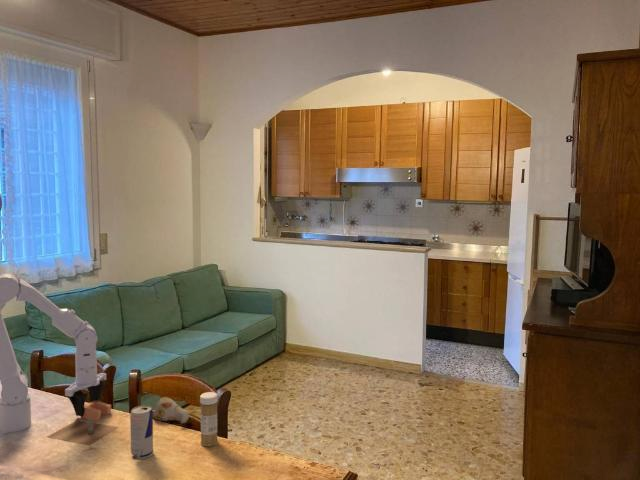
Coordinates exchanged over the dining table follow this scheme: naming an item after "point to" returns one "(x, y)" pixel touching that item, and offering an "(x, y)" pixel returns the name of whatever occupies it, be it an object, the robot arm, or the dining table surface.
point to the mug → (170, 411)
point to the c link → (96, 410)
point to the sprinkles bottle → (208, 418)
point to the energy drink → (141, 432)
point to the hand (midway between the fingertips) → (87, 411)
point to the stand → (82, 432)
